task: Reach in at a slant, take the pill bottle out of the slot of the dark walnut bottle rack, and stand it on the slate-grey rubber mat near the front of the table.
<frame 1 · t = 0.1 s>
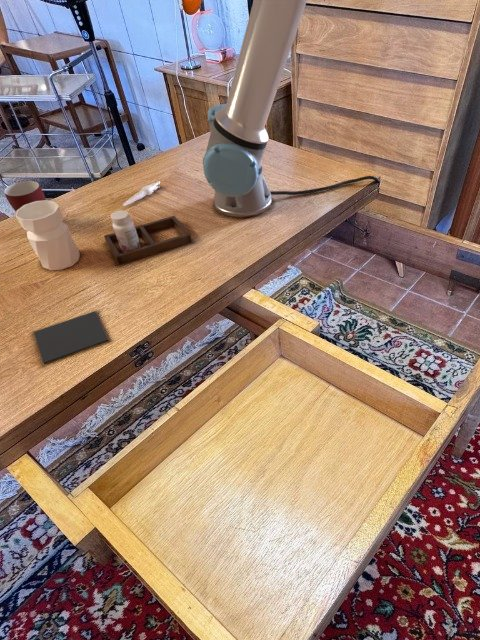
mat: (71, 337, 86), on the table
mug: (38, 227, 113), on the table
vase: (61, 260, 103), on the table
white elongated piece: (142, 197, 123), on the table
rack: (149, 242, 107), on the table
pill bottle: (131, 248, 106), resting in rack
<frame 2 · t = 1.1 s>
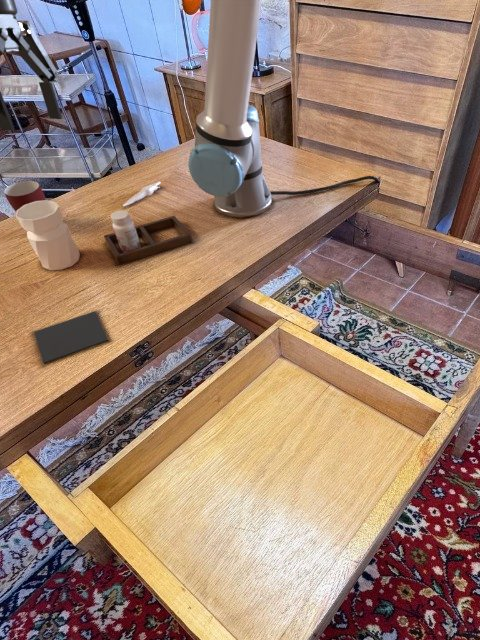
hand: (33, 124, 93), 24 cm above the table, tool pointing down, fingers open, 13 cm apart
nothing on the table moved.
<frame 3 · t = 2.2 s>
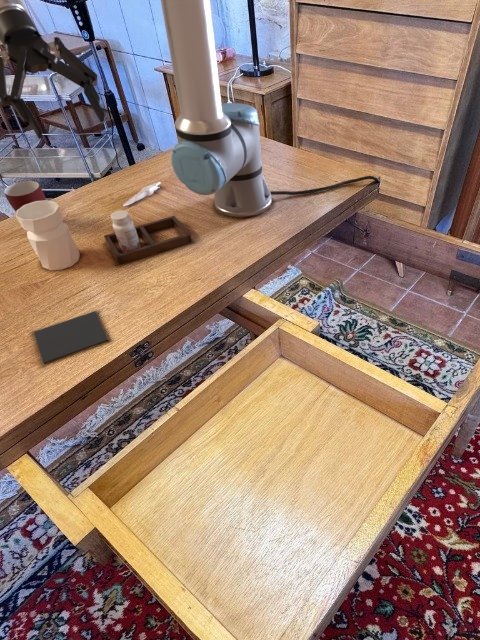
hand: (72, 126, 93), 24 cm above the table, tool tilted 45°, fingers open, 13 cm apart
nothing on the table moved.
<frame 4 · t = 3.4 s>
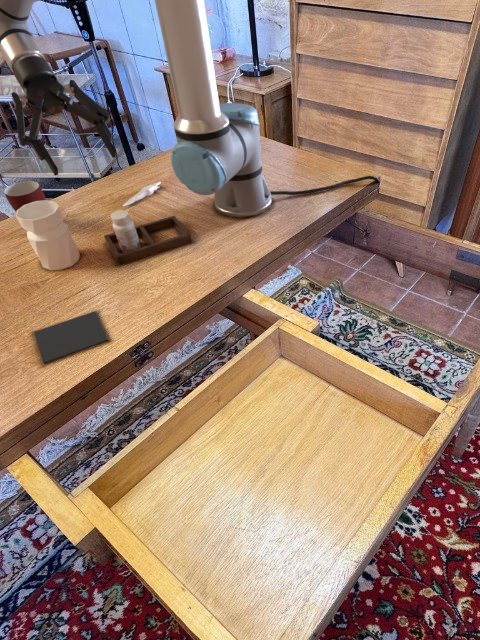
hand: (86, 163, 98), 16 cm above the table, tool tilted 45°, fingers open, 13 cm apart
nothing on the table moved.
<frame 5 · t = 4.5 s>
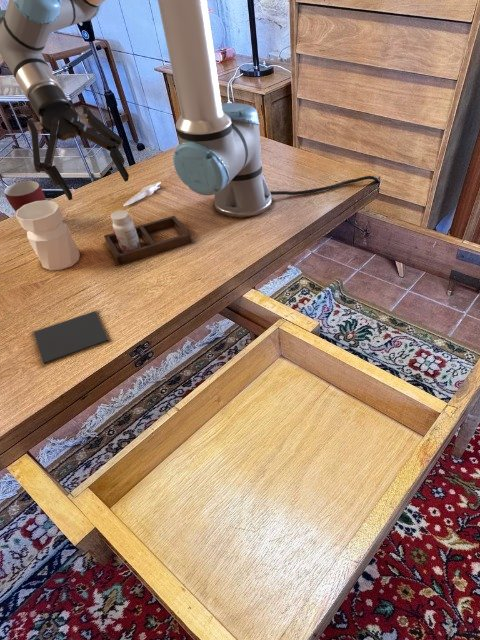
hand: (99, 187, 100), 12 cm above the table, tool tilted 45°, fingers open, 13 cm apart
nothing on the table moved.
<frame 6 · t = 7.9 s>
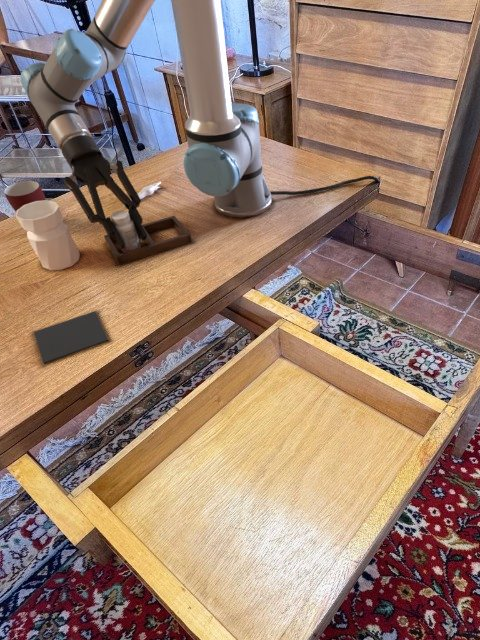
hand: (134, 241, 102), 3 cm above the table, tool tilted 45°, fingers closed on pill bottle, 5 cm apart
pill bottle: (131, 248, 106), resting in rack, touching gripper
everything else where it was.
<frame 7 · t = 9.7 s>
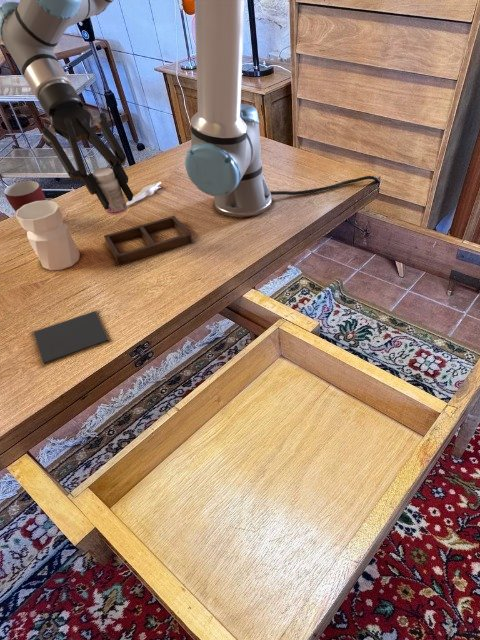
hand: (119, 202, 94), 13 cm above the table, tool tilted 45°, fingers closed on pill bottle, 5 cm apart
pill bottle: (117, 211, 98), point 9 cm above the table, touching gripper
everything else where it was.
when the fingers open (4 cm above the table, at t = 17.0 s): pill bottle stays where it is, resting on mat.
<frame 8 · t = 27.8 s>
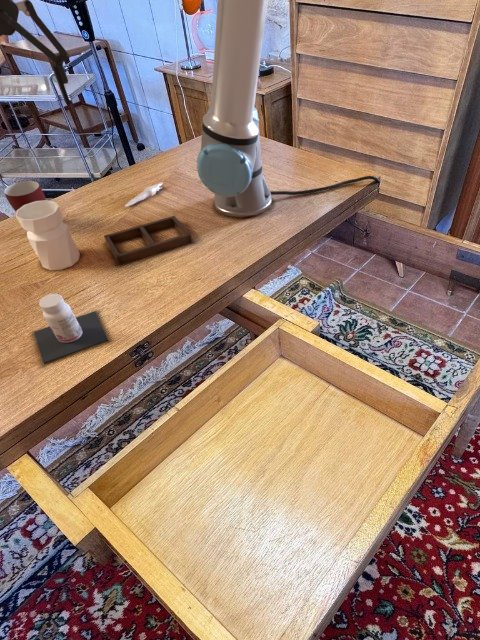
hand: (34, 109, 91), 27 cm above the table, tool pointing down, fingers open, 13 cm apart
pill bottle: (70, 336, 86), resting on mat
everything else where it was.
at the end: pill bottle inside the target area on the mat (0.1 cm from its centre), point 0.2 cm above the mat's base; pill bottle tilted 0°; pill bottle touching mat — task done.
